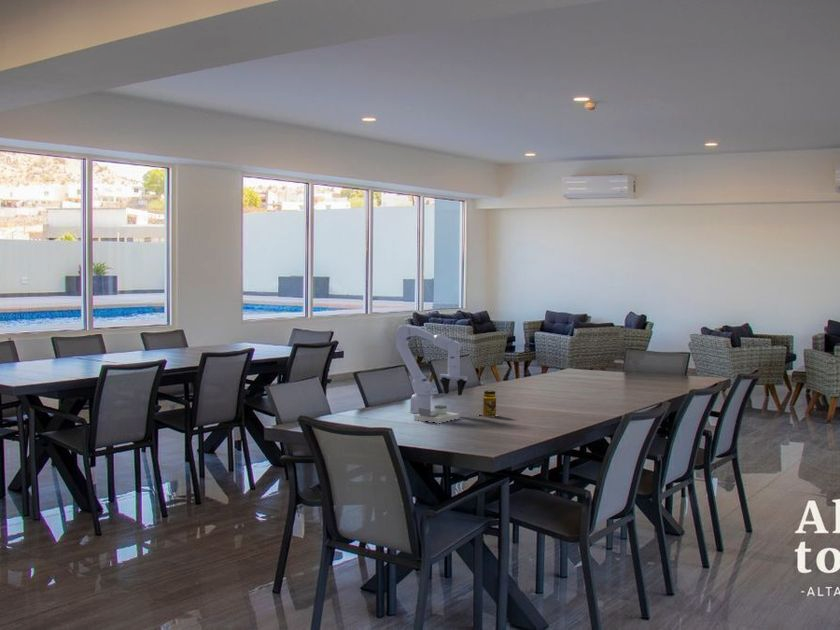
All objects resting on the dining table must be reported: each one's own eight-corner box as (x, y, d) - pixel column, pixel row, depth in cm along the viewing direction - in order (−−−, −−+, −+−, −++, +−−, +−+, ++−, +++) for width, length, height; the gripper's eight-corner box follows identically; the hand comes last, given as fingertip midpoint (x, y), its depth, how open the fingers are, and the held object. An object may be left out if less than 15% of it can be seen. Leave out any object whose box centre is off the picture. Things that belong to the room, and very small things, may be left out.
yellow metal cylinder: (492, 417, 396) (493, 392, 395) (476, 416, 400) (476, 391, 399) (499, 415, 402) (499, 390, 402) (483, 414, 406) (483, 389, 406)
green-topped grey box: (434, 418, 391) (434, 405, 391) (439, 417, 395) (439, 404, 394) (441, 419, 389) (441, 406, 389) (446, 418, 392) (446, 405, 392)
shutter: (418, 415, 383) (418, 407, 383) (427, 413, 389) (427, 405, 389) (429, 417, 379) (429, 409, 379) (438, 415, 385) (439, 407, 385)
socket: (414, 420, 387) (414, 414, 387) (434, 415, 400) (434, 410, 400) (439, 423, 379) (439, 418, 379) (458, 418, 392) (458, 413, 392)
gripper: (436, 365, 402) (436, 393, 403) (461, 367, 393) (461, 396, 394) (444, 364, 408) (444, 392, 408) (469, 366, 399) (469, 395, 400)
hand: (453, 394), depth 402 cm, fingers open, 7 cm apart
